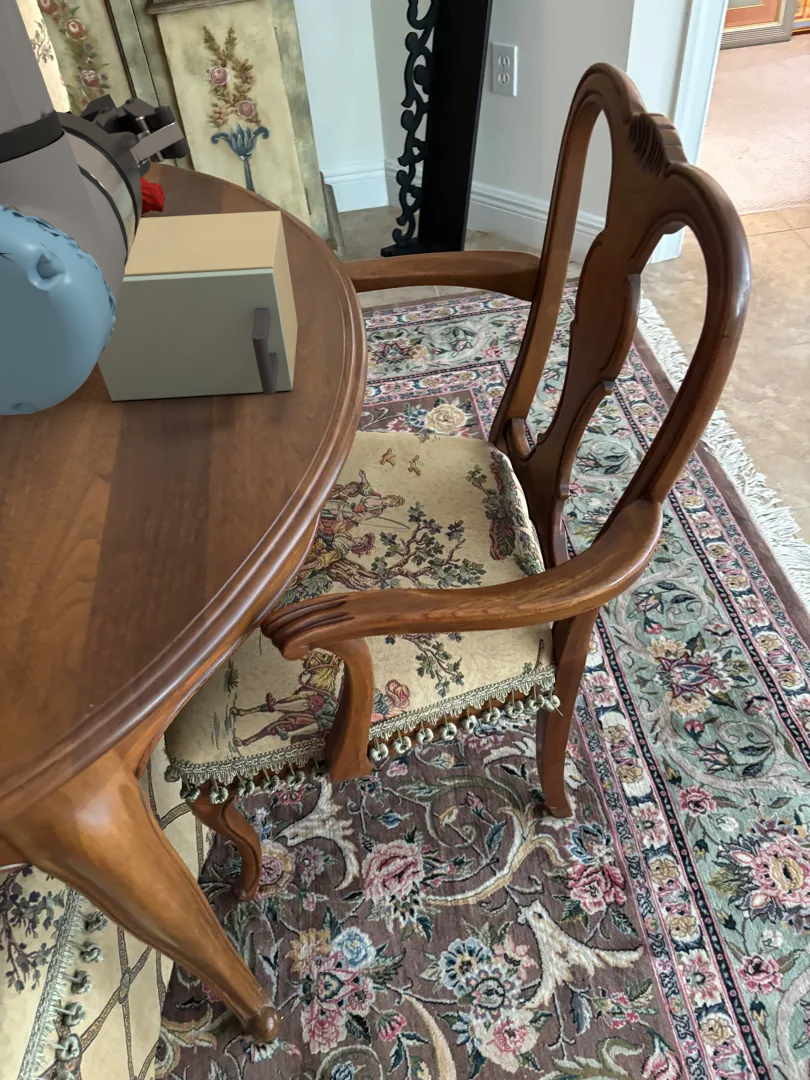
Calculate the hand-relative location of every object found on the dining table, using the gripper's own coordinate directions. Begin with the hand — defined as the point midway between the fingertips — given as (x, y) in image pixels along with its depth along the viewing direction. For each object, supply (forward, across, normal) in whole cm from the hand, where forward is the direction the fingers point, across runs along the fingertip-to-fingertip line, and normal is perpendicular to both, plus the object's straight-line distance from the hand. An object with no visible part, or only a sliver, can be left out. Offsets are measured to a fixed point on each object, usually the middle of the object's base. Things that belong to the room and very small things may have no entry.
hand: (110, 117), depth 57 cm
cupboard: (+13, -5, -25) cm, 28 cm away
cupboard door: (+4, -6, -26) cm, 27 cm away
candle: (+48, -14, -17) cm, 53 cm away
